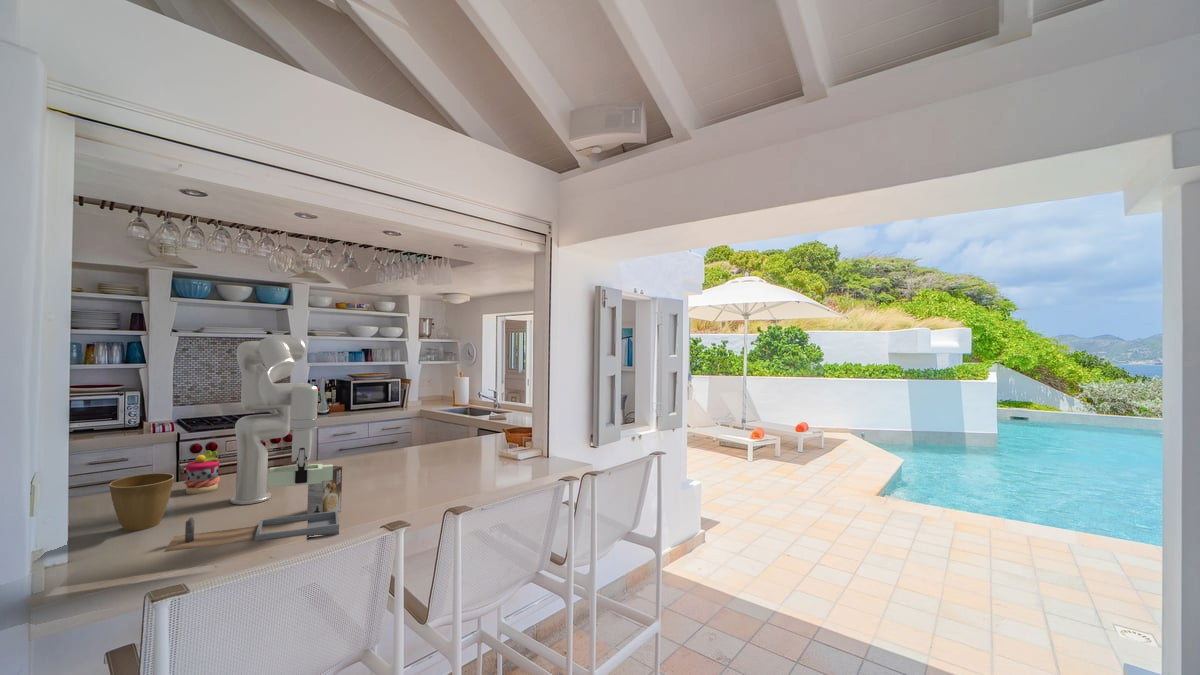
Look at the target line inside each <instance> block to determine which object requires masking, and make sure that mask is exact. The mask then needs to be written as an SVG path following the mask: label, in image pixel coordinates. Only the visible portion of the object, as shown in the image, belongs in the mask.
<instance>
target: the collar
mask: <svg viewBox="0 0 1200 675" xmlns="http://www.w3.org/2000/svg"><path fill="white" fill-rule="evenodd" d="M333 466H334V464H323V463H314V464H308V465H307V482H306V483H297V484H296V483H295V470H296V465H289V466H288V465H287V466H276V467H269V471H267V489H274V488H284V487H285V488H286V487H296V486H305V485H308V484H317V483H322V481H328V480H332V478H333ZM304 470H305V469H304Z"/></svg>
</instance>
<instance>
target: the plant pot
mask: <svg viewBox="0 0 1200 675" xmlns="http://www.w3.org/2000/svg"><path fill="white" fill-rule="evenodd" d="M174 478H175V475H174V474H173V473H172V474H171V473H164V472H163V473H162V472H157V473H155V472H153V473H144V474H137V475H136V474H135V475H130V476H126V477H121V478H118V479H116V480H114V481H111V482H110V483H109V492H110V497H111V500H112V504H113V508H114V512H115V514H116V517H117V520H118V522H119V524H120V526H121V528H122V530H123V531H127V532H134V531H135V532H136V531H143V530H149V529H150V528H151V529H152V528H154V527H157V526H158V525H160V523H161V521H162V519H163V516H164V514H165V511H166V509H167V506H168V504H169V499H170V497H171V494H172V489H173V485H174V480H175V479H174Z"/></svg>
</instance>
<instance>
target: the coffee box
mask: <svg viewBox="0 0 1200 675" xmlns="http://www.w3.org/2000/svg"><path fill="white" fill-rule="evenodd" d="M342 482H343V466H339V465H333V478H332V480H328V481H322V483H317V484H307V512H306V514H314V513H323V512H331V511H338V513H340V512H342V490H343V489H342V488H343V485H342V484H343V483H342Z"/></svg>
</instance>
